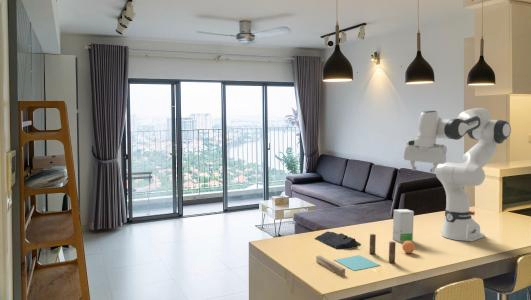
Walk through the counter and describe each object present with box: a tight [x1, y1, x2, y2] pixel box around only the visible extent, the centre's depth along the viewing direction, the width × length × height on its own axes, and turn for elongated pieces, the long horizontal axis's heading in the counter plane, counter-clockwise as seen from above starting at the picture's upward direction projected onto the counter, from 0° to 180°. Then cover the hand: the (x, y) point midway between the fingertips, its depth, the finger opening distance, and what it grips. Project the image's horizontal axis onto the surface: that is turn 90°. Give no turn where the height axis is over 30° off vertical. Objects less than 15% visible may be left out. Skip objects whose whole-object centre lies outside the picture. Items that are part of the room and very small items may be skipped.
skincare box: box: [392, 208, 415, 243], centre depth 214 cm, size 8×7×16 cm
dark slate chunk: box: [314, 231, 362, 250], centre depth 211 cm, size 15×22×5 cm
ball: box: [401, 241, 416, 254], centre depth 194 cm, size 6×6×6 cm
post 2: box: [388, 241, 397, 265], centre depth 182 cm, size 3×3×9 cm
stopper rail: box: [315, 255, 346, 277], centre depth 175 cm, size 2×18×2 cm, turn 26°
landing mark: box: [333, 254, 381, 272], centre depth 181 cm, size 14×14×1 cm
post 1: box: [369, 233, 377, 256], centre depth 193 cm, size 3×3×9 cm
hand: (423, 171), depth 205 cm, fingers open, 8 cm apart
